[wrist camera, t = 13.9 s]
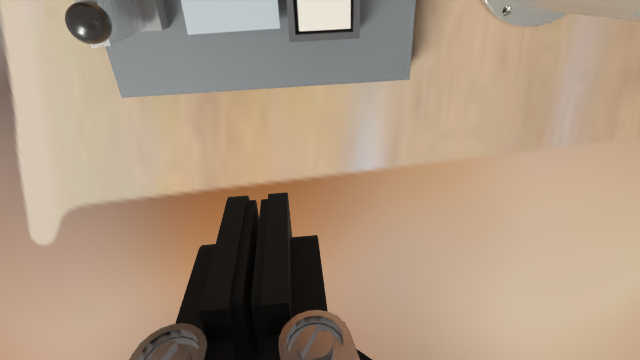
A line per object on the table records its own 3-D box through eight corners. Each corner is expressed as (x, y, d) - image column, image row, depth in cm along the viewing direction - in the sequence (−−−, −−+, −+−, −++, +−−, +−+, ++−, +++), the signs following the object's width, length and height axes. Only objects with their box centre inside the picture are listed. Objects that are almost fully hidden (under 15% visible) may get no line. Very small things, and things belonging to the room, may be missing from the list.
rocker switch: (274, -25, 27) (275, -25, 26) (278, 26, 29) (280, 28, 28) (178, -20, 26) (176, -20, 25) (189, 33, 28) (187, 34, 27)
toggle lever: (144, -9, 26) (95, -4, 17) (153, 27, 27) (112, 49, 18) (115, -8, 25) (48, -2, 16) (125, 28, 27) (69, 52, 18)
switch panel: (412, -105, 29) (438, -122, 24) (400, 72, 36) (418, 86, 31) (79, -94, 27) (36, -109, 22) (134, 88, 34) (109, 106, 29)
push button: (345, -31, 28) (350, -32, 26) (345, 25, 30) (350, 28, 28) (294, -28, 28) (295, -29, 25) (298, 27, 30) (299, 31, 27)
